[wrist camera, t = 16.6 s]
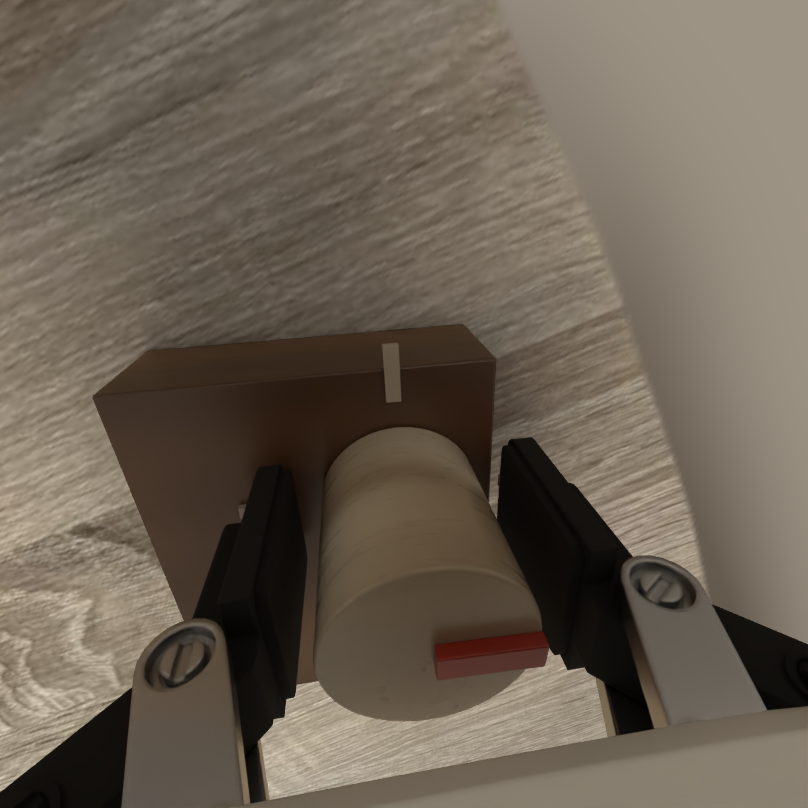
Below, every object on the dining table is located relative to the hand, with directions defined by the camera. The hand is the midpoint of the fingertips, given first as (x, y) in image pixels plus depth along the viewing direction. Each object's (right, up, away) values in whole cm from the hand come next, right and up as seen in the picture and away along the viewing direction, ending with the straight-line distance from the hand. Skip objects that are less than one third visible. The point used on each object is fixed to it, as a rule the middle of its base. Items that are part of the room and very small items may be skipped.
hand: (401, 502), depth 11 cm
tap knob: (0, 0, 0) cm, 0 cm away
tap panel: (-2, 0, +4) cm, 4 cm away
